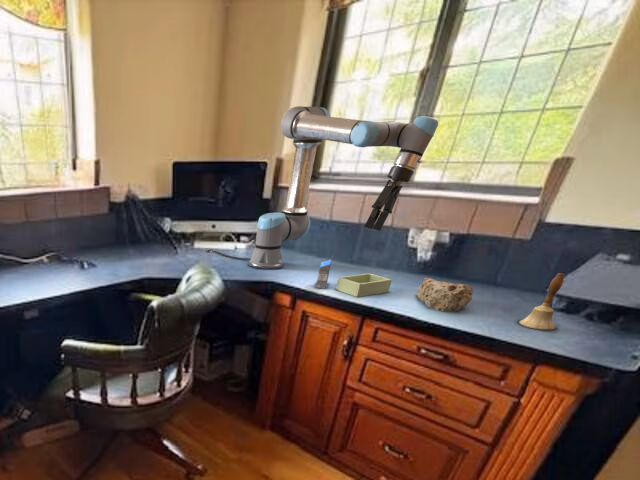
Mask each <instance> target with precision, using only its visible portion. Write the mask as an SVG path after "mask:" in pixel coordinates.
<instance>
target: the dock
mask: <svg viewBox="0 0 640 480" xmlns="http://www.w3.org/2000/svg"><path fill="white" fill-rule="evenodd" d="M391 284H392V279H391V278H387V277H384V276H381V275H376V274H374V273H373V274H372V273H361V274H354V275H346V276H339V277H338V279H337V284H336V288H335V290H337V291H339V292H342V293H345V294H348V295H351V296H354V297H357V298H358V297H365V296H371V295H377V294H383V293H389V291H390V288H391Z"/></svg>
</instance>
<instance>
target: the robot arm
mask: <svg viewBox="0 0 640 480" xmlns="http://www.w3.org/2000/svg"><path fill="white" fill-rule="evenodd" d="M439 123H440V122H439V120H438V119H437V118H435V117H431V116H427V115H421V116H416V118H415V119H414V121H413V122H409V123H408V122H402V121H401V122H400V121H395V120H394V121H393V120H387V121H386V120H384V121H369V120H362V119H353V118H345V117H344V118H343V117H335V116H332V115H331V114H330V112H329V111H328V109H326V107H322V106H317V105H316V106H302V105H300V106H293V107H291V108H289V109H288V110H287V111H286V112H284V114H283V116H282V118H281V120H280V130H281V131H280V132H281V133H282V135H283V137H286V138H287V139H290V140H293V141H292V145H293V146H294V147H295V149H294V151H295V152H294V157H293V162H292V167H291V173H290V179H289V186H288V191H287V196H286V197H287V198H286V203H285V206H284V207H283V208H282V209H281V212H268V213H264V214H262V215H260V216H259V218H258V220H257V221H258V222H257V225H256V234H255V235H256V237H255V245H254V250H253V252H252V255H251V257H250V258H249V257H239V256H238V257H237V256H232V255H228V254H225V253H222V252H220V251H217V250H215V251H213V253H215V254H219V255H221V256H224V257H227V258H231V259H236V260H244V261H245V260H246V261H249V263H248V264H249V267H252V268H255V269H261V270H276V269H280V268H282V267H283V257H282V252H281V251H282V250H281V247H282V242H288V241H296V240H299V239H303V238H304V237H305V236H306V235H307V234H308V232H309V230H310V228H311V219H310V216H309V214H308V212H309V211H308V209H307V207H306V204H307V199H308V196H309V195H308V194H309V191H310V190H309V189H310V185H311V178H312V174H313V169H314V163H315V158H316V154H317V148H318V147H319V146H320V145H322V142H323V141H328V142H329V141H330V142H336V143H341V144H348V145H353V146H354V147H357V148H368V147H370V148H371V147H375V148H377V147H392V148H398V149H399V148H400V150H399V151H398V153H397V155H396V157H395V159H394V161H393V163H392V164H393V166H391V167H390V169H389V171H388V173H387V175H386V177H387V178H388V180H387V182H386V184H385V186H384V187H383V188H382V190H381V192H380V194H379V195H378V197H377V198H376V200H375V202H373V204H372V205H371V208H372V210H371V212H370V214H369V216H368V218H367V220H366V222H365V224H364V226H363V227H365V228H367V229H370V230H372V229H373V230H376V231H379V232H380V231H381V230H382V228H383V226H384V224H385V222H386V220H387V218H388V217H389V215H392V214H393V212H394V211H393V210H394V207H395V205H396V203H397V199H398V198H399V195H400V192H401V191H402V188H403V185H402V183H409V182H410V181H411V179H412V178H413V175H414V173H415V172H414V170H416V169H417V167H418V165H419V164H421V163H422V162H423V161H422V157H423V156H424V153H425V151H426V150H427V148H428V146H429V144H430V142H431V141H432V139H433V138H434V135H435V133H436V132H437V128H438V127H439ZM322 140H323V141H322ZM211 250H212V249H208V250H207V251H206V253H209V252H212V251H211Z"/></svg>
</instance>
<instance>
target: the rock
mask: <svg viewBox="0 0 640 480" xmlns="http://www.w3.org/2000/svg"><path fill="white" fill-rule="evenodd" d="M473 292H474V290H473V287H472V285H467V283H466V284H465V283H464V284H462V283H453V282H450V281H445V280H443V281H439V280H436V279H434V278H429V277H425V278H423V281H422V283H421V284H420V285H419V287H418V288H417V290H416V295H417V299H418V300H420V301H421V302H424V303H425V304H426V306H428V308H430V309H434V310H437V311H441V312H447V311H448V312H458V311H459V310H460V309H464V308H465V307H466V306H467V305H468V304H469V303H470V302H471V300H472V299H473Z"/></svg>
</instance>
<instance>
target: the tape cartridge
mask: <svg viewBox="0 0 640 480" xmlns="http://www.w3.org/2000/svg"><path fill="white" fill-rule="evenodd" d="M334 253H335V252H334ZM334 253H332V256H331V259H327V260H325V261H322V262H321V263H320V266H319V270H318V274H317V279H316V284H315V288H316V289H323V290H324V289H326V288H327V286H328V280H329V275H330V270H331V265H332V260H333V258H334Z"/></svg>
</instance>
